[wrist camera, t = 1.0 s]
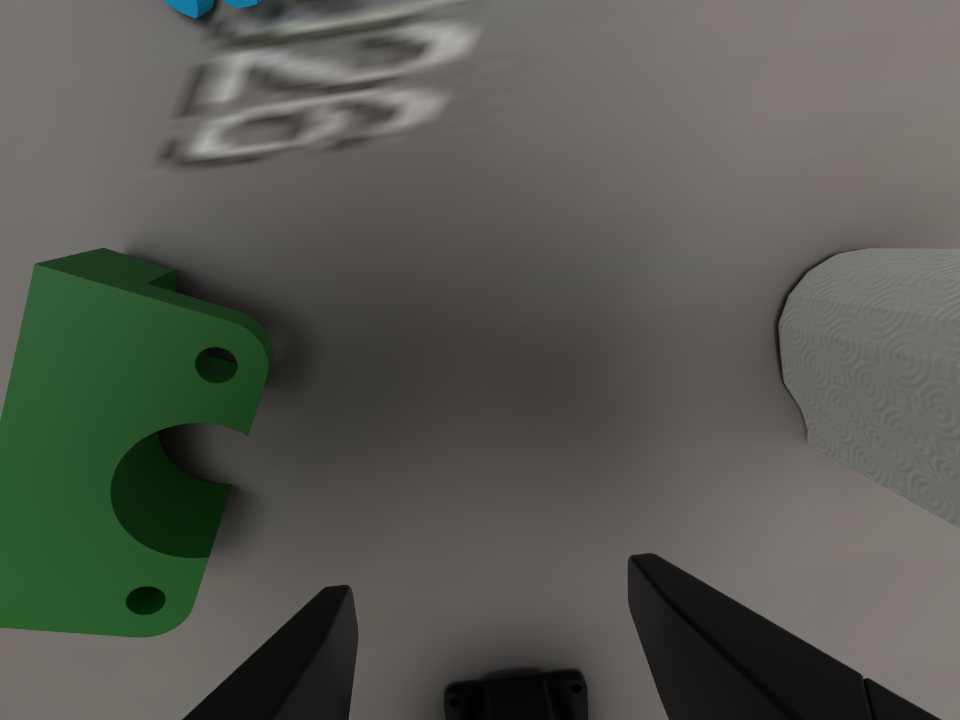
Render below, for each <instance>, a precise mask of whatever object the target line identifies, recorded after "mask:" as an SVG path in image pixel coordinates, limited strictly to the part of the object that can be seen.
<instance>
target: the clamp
mask: <svg viewBox="0 0 960 720" xmlns="http://www.w3.org/2000/svg"><path fill="white" fill-rule="evenodd" d="M176 286H177V273H176V271H175V270H172V269H169V268H166V267H163V266H160V265H157V264H153V263H150V262H147V261H144V260H141V259H138V258H134V257H131V256H128V255H125V254H122V253H119V252H115V251H112V250H109V249H106V248H100V249H96V250H92V251H88V252H83V253H79V254H75V255H71V256H66V257H62V258H58V259H54V260H49V261H45V262H41V263H37V264H35V265H34V270H33V275H32V279H31V284H30V288H29V293H28V297H27V302H26V307H25V311H24V316H23V320H22V325H21V330H20V334H19V339H18V343H17V348H16V353H15V357H14V362H13V366H12V371H11V376H10V380H9V385H8V389H7V394H6V398H5V403H4V408H3V412H2V417H1V421H0V628H13V629H27V630H40V631H54V632H68V633H82V634H96V635H110V636H124V637H151V636H156V635H160V634H163V633H166V632H168V631H170V630H172V629H174V628H176V627H177V626H179V625H180V624H181V623H182V622H183V621H184V620H185V619H186V618H187V617H188V616H189V614H190V612H191V611H192V608H193V605H194V602H195V599H196V596H197V593H198V590H199V587H200V584H201V580H202V577H203V574H204V571H205V568H206V565H207V562H208V559H209V556H210V552H211V549H212V546H213V543H214V540H215V537H216V534H217V530H218V527H219V524H220V521H221V518H222V515H223V512H224V509H225V505H226V502H227V499H228V496H229V493H230V490H231V487H232V485H230V484H219V483H211V482H206V481H202V480H199V479H196V478H194V477H192V476H190V475H188V474H186V473H184V472H183V471H181V470H180V469H179V468H177V467H176V466H175V465H174V464H173V463H172V462H171V461H170V460H169V458H168V457H167V456H166V454H165V453H164V451H163V449H162V447H161V444H160V441H159V437H158V431H159V430H162V429H165V428H168V427H172V426H176V425H181V424H190V423H207V424H216V425H221V426H225V427H228V428H232V429H234V430H237V431H240V432H242V433H244V434H246V435H248V434H249V431H250V428H251V425H252V422H253V419H254V415H255V412H256V409H257V406H258V403H259V400H260V397H261V394H262V391H263V387H264V384H265V381H266V378H267V375H268V372H269V369H270V366H271V362H272V356H273V351H272V344H271V341H270V338H269V336H268V334H267V332H266V331H265V329H264V328H263V327H262V326H261V325H260V324H259V323H258V322H257V321H256V320H255V319H253V318H252V317H250V316H248V315H247V314H244V313H242V312H239V311H236V310H233V309H230V308H226V307H223V306H220V305H216V304H213V303H210V302H206V301H203V300H200V299H196V298H193V297H190V296H186V295H183V294H180V293H177V292H175V290H176ZM210 347H220V348H224V349H226V350H228V351H229V352H231V353H232V354H233V355H234V357H235V358H236V361H237V363H234V362H230V361H226V360H223V359H219V358H215V357H211V356H207V355H206V353H205V349H207V348H210Z"/></svg>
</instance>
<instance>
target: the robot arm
mask: <svg viewBox="0 0 960 720" xmlns="http://www.w3.org/2000/svg"><path fill="white" fill-rule="evenodd" d="M628 602H629V608H630V612H631V615H632V618H633V621H634V624H635V627H636V629H637V632H638V635H639V638H640V641H641V644H642V647H643V650H644V652H645V655H646V658H647V661H648V664H649V667H650V670H651V673H652V675H653V678H654V681H655V684H656V687H657V690H658V693H659V695H660V698H661V701H662V703H663V706H664V709H665V711H666V713H667V715H668V718H669V720H941V719H939V718H938V717H936V716H934V715H932V714H930V713H929V712H927V711H925V710H923V709H921V708H920V707H918V706H916V705H914V704H913V703H911V702H909V701H907V700H905V699H904V698H902V697H900V696H898V695H897V694H895V693H893V692H892V691H890V690H888V689H886V688H885V687H883V686H881V685H879V684H878V683H876V682H874V681H873V680H871V679H869V678H865V679H863V676H862V675H861V674H860V673H859V672H857V671H855V670H853V669H852V668H850V667H848V666H847V665H845V664H843V663H841V662H840V661H838V660H836V659H834V658H833V657H831V656H829V655H828V654H826V653H824V652H822V651H821V650H819V649H817V648H816V647H814V646H812V645H810V644H809V643H807V642H805V641H804V640H802V639H800V638H798V637H797V636H795V635H793V634H792V633H790V632H788V631H786V630H785V629H783V628H781V627H780V626H778V625H776V624H774V623H773V622H771V621H769V620H768V619H766V618H764V617H762V616H761V615H759V614H757V613H755V612H754V611H752V610H750V609H749V608H747V607H745V606H743V605H742V604H740V603H738V602H737V601H735V600H733V599H731V598H730V597H728V596H726V595H725V594H723V593H721V592H719V591H718V590H716V589H714V588H713V587H711V586H709V585H707V584H706V583H704V582H702V581H701V580H699V579H697V578H695V577H694V576H692V575H690V574H689V573H687V572H685V571H683V570H682V569H680V568H678V567H676V566H675V565H673V564H671V563H670V562H668V561H666V560H664V559H663V558H661V557H659V556H658V555H656V554H653V553H647V554H637V555H631V556H630V557H629V559H628ZM357 646H358V625H357V618H356V612H355V605H354V599H353V593H352V589H351V587H350V586H348V585H339V586H330V587H325V588H324V589H322V590H321V591H320V592H319V593H318V594H317V595H316V596H315V597H314V598H313V599H311V600H310V601H309V602H308V603H307V604H306V605H305V606H304V607H303V608H302V609H301V610H300V611H299V612H297V613H296V614H295V615H294V616H293V617H292V618H291V619H290V620H289V621H288V622H287V623H286V624H285V625H283V626H282V627H281V628H280V629H279V630H278V631H277V632H276V633H275V634H274V635H273V636H272V637H271V638H269V639H268V640H267V641H266V642H265V643H264V644H263V645H262V646H261V647H260V648H259V649H258V650H257V651H255V652H254V653H253V654H252V655H251V656H250V657H249V658H248V659H247V660H246V661H245V662H244V663H243V664H242V665H240V666H239V667H238V668H237V669H236V670H235V671H234V672H233V673H232V674H231V675H230V676H229V677H228V678H226V679H225V680H224V681H223V682H222V683H221V684H220V685H219V686H218V687H217V688H216V689H215V690H214V691H212V692H211V693H210V694H209V695H208V696H207V697H206V698H205V699H204V700H203V701H202V702H201V703H200V704H198V705H197V706H196V707H195V708H194V709H193V710H192V711H191V712H190V713H189V714H188V715H187V716H186V717H185V718H183V719H182V720H348V719H349V711H350V703H351V695H352V687H353V679H354V671H355V663H356V655H357ZM574 684H577V685H575V686H572V685H574ZM452 698H458V699H452ZM444 708H445V717H446V720H588V700H587V685H586V682H585V679H584V676H583V675H582V674H581V673H578V672H570V673H561V674H552V675H543V676H534V677H525V678H516V679H507V680H499V681H490V682H481V683H472V684H463V685H454V686H451V687H449V688H447V689H446V691H445V693H444Z"/></svg>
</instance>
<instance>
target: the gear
mask: <svg viewBox="0 0 960 720" xmlns="http://www.w3.org/2000/svg"><path fill="white" fill-rule="evenodd" d="M164 1H165V2H166V3H167V4H168V5H170V6H171V7H173V8H174V9H176V10H177V11H179V12H181V13H183V14H185V15H188V16H190V17H193V18H195V19H196V18H198V17H199V16H201V15H203V14H204V13H206V12H208V11H209V10H211V9H212V7H213V4H214V0H164ZM224 1H225V2H226V3H227V5H229V6H233V7H240V8H242V7H249V6H252V5H255V4H258V3H259V2H261V1H262V0H224Z"/></svg>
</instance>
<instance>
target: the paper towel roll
mask: <svg viewBox="0 0 960 720" xmlns="http://www.w3.org/2000/svg"><path fill="white" fill-rule="evenodd" d="M778 325H779V340H780V353H781V362H782V371H783V379H784V383H785V385H786V387H787V388H788V390H789V391H790V393H791V394H792V396H793V397H794V399H795V401H796V402H797V404H798V405H799V407H800V408H801V410H802V414H803V417H804V420H805V423H806V426H807V429H808V445H810V446H812V447H814V448H816V449H817V450H819V451H821V452H823V453H825V454H826V455H828V456H830V457H832V458H834V459H835V460H837V461H839V462H841V463H843V464H845V465H846V466H848V467H850V468H852V469H854V470H855V471H857V472H859V473H861V474H863V475H864V476H866V477H868V478H870V479H872V480H873V481H875V482H877V483H879V484H881V485H882V486H884V487H886V488H888V489H890V490H892V491H893V492H895V493H897V494H899V495H901V496H902V497H904V498H906V499H908V500H910V501H911V502H913V503H915V504H917V505H919V506H920V507H922V508H924V509H926V510H928V511H929V512H931V513H933V514H935V515H937V516H938V517H940V518H942V519H944V520H946V521H948V522H949V523H951V524H953V525H955V526H957V527H958V528H960V249H950V248H867V249H861V250H856V251H850V252H844V253H839V254H836V255H834V256H833V257H831V258H829V259H828V260H826V261H824V262H823V263H821V264H819V265H818V266H816V267H815V268H813V269H811V270H810V271H808V272H807V274H806V275H805V276H804V277H803V278H802V280H801V281H800V282H799V283H798V285H797V286H796V287H795V288H794V290H793V291H792V292H791V293H790V294H789V296H788V298H787V301H786V304H785V307H784V310H783V313H782V315H781V318H780V321H779V324H778Z"/></svg>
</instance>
